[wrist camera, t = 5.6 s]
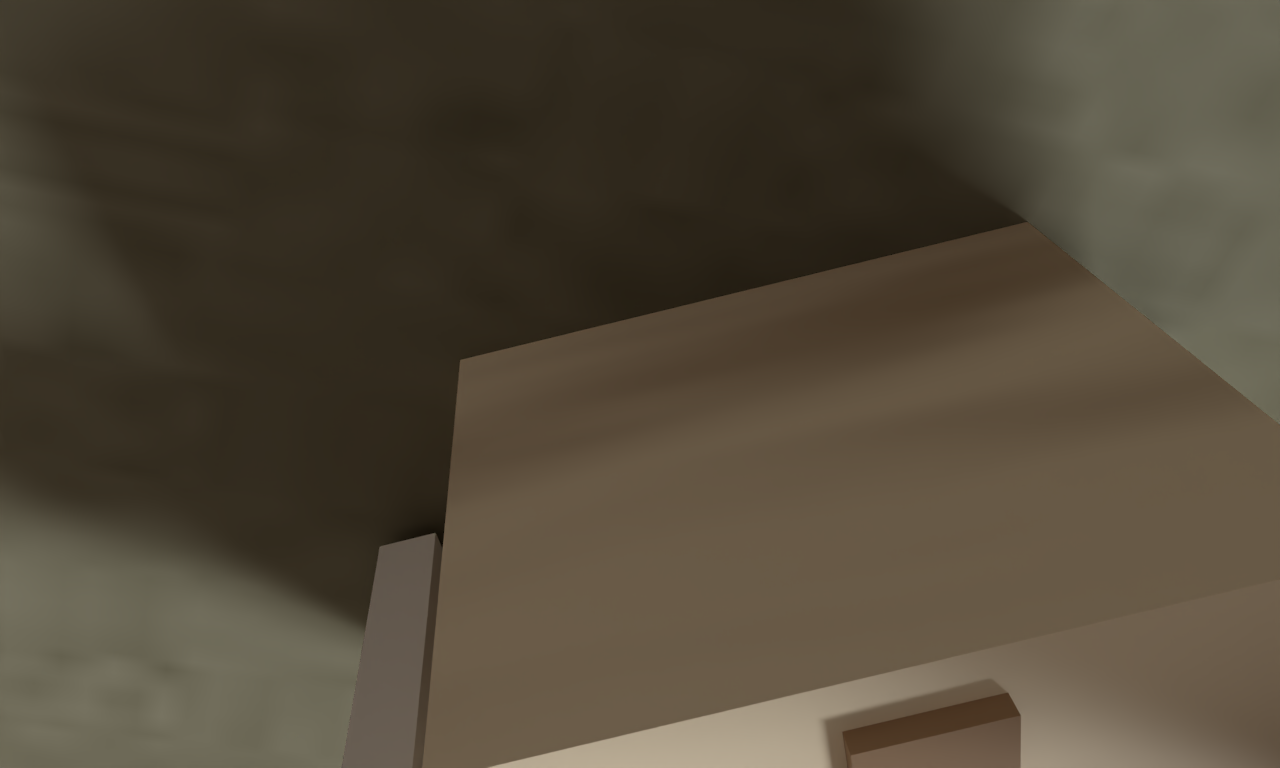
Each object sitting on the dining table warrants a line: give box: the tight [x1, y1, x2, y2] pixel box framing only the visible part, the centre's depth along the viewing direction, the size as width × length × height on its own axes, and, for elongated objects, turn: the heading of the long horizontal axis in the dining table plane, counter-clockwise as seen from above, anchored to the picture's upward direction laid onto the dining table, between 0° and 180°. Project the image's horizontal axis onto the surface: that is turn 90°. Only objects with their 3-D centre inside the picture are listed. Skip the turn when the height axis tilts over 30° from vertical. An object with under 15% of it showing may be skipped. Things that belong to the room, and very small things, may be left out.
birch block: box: [422, 222, 1280, 768], centre depth 11 cm, size 7×7×6 cm
